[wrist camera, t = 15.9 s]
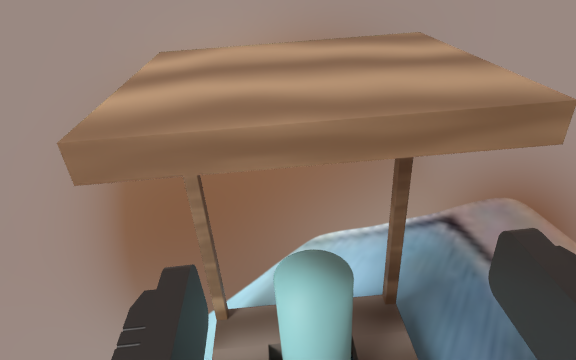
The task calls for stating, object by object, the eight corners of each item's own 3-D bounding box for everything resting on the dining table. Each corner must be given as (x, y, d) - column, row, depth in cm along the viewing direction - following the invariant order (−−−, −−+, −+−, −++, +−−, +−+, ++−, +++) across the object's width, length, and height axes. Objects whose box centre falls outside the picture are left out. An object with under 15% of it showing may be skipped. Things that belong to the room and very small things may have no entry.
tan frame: (464, 511, 24) (629, 122, 11) (199, 540, 24) (22, 173, 10) (389, 309, 38) (419, 32, 25) (222, 325, 38) (160, 52, 24)
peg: (360, 391, 31) (367, 267, 24) (329, 447, 28) (326, 323, 20) (309, 360, 34) (302, 240, 26) (275, 408, 30) (257, 285, 23)
